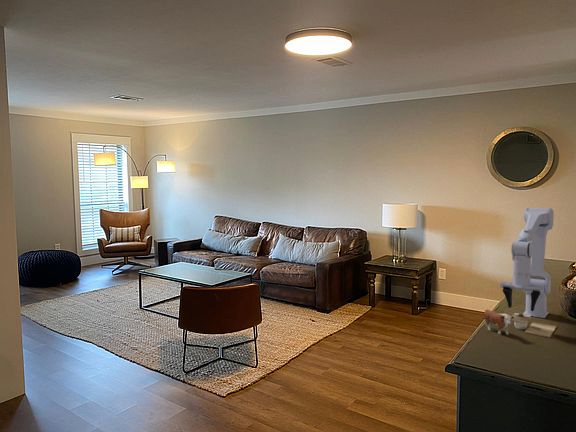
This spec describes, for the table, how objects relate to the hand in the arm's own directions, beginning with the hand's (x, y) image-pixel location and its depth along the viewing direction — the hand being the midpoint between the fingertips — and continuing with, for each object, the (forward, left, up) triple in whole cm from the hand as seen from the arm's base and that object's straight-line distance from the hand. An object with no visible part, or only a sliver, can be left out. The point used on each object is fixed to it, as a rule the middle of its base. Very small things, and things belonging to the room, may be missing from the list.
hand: (521, 308), depth 165 cm
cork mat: (-1, +7, -7) cm, 10 cm away
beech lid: (0, 0, -4) cm, 4 cm away
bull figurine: (+11, -5, -8) cm, 14 cm away
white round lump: (0, 0, -7) cm, 7 cm away
